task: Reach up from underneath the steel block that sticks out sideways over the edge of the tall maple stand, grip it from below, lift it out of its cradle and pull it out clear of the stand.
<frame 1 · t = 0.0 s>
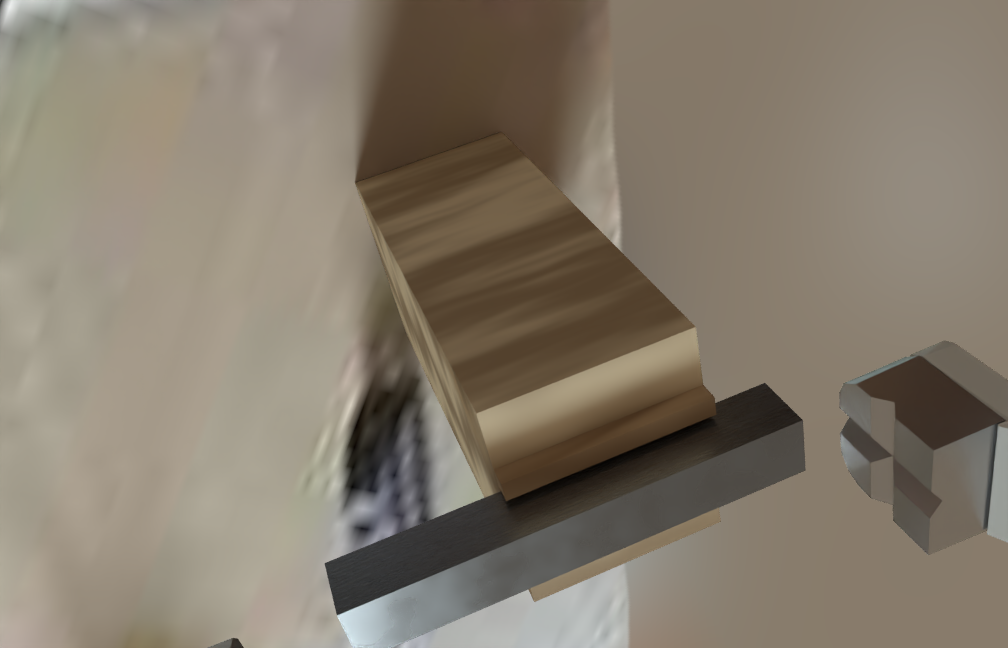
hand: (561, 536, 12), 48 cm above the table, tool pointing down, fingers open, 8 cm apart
maple stand: (452, 237, 64), on the table
steel block: (559, 493, 42), point 26 cm above the table, touching maple stand
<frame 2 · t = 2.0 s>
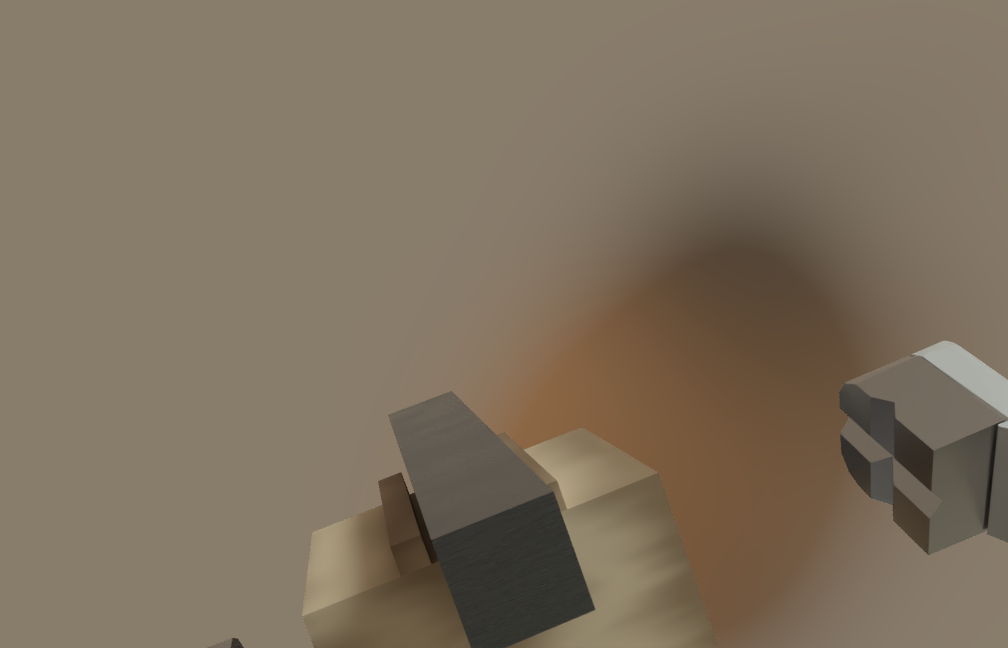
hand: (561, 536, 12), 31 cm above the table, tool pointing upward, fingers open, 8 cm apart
steel block: (474, 522, 32), point 26 cm above the table, touching maple stand
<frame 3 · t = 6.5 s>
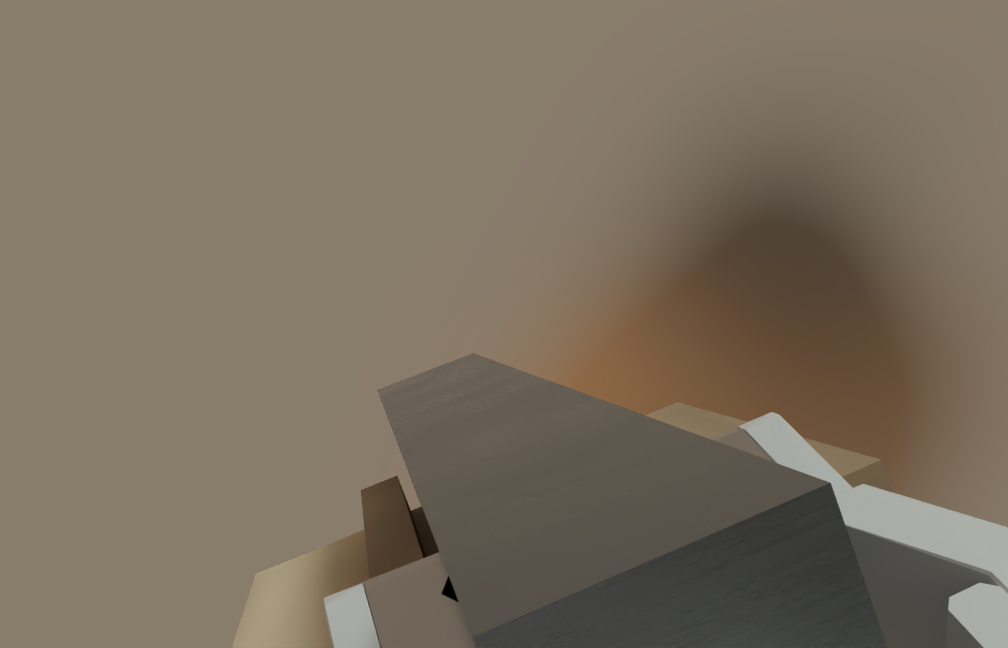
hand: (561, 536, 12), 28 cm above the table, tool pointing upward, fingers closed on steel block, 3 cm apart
steel block: (528, 558, 18), point 26 cm above the table, touching gripper, maple stand
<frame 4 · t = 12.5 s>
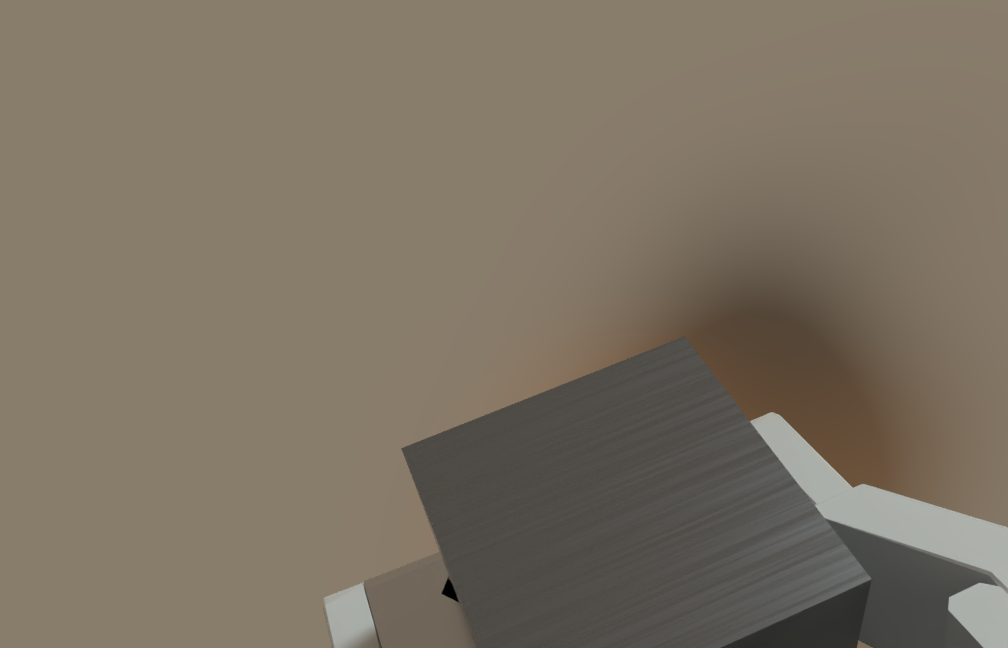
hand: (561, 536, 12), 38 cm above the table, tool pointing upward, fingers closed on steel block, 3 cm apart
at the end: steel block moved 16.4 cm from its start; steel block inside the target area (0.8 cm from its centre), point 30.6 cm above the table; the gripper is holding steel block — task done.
